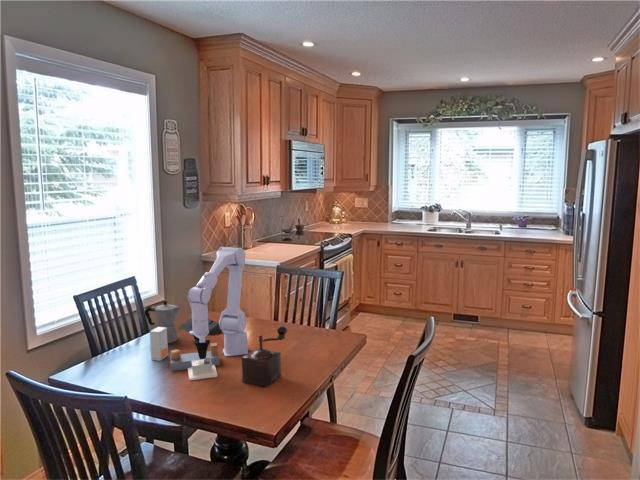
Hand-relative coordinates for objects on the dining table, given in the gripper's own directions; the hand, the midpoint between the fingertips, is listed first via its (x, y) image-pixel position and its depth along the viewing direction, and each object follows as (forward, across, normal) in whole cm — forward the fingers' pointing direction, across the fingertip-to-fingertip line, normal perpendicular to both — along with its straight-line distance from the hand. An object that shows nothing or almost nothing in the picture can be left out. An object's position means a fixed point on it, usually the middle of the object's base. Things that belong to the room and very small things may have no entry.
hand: (201, 354), depth 180 cm
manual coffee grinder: (+7, +11, +22) cm, 26 cm away
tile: (+7, 0, 0) cm, 7 cm away
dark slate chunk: (+8, -53, +4) cm, 54 cm away
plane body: (+7, -10, -2) cm, 12 cm away
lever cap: (+6, 0, 0) cm, 6 cm away
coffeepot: (+8, -42, -13) cm, 45 cm away
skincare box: (+7, -21, -15) cm, 27 cm away
